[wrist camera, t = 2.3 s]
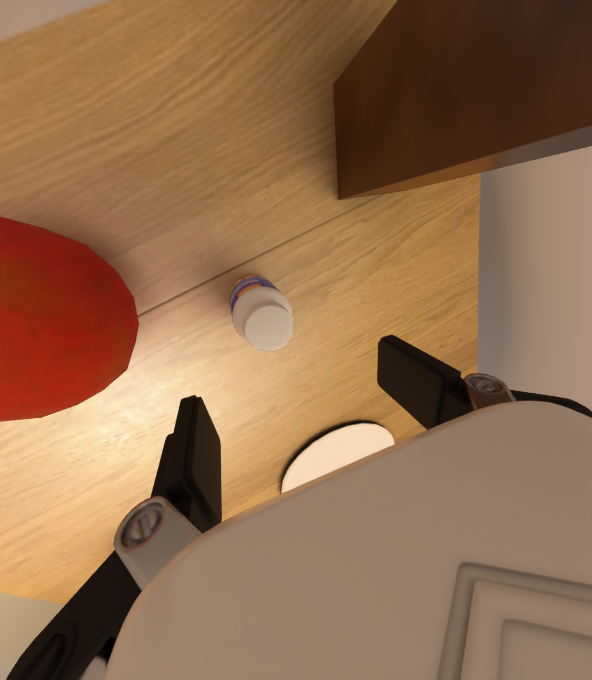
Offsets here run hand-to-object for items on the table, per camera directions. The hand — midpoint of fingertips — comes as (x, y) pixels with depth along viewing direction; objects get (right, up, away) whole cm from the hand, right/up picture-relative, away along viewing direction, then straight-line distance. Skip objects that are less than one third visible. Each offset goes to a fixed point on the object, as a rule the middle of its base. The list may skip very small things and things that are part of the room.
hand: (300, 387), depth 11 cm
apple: (-20, +7, +10) cm, 23 cm away
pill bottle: (-5, +7, +15) cm, 17 cm away
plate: (+9, -24, +34) cm, 42 cm away
